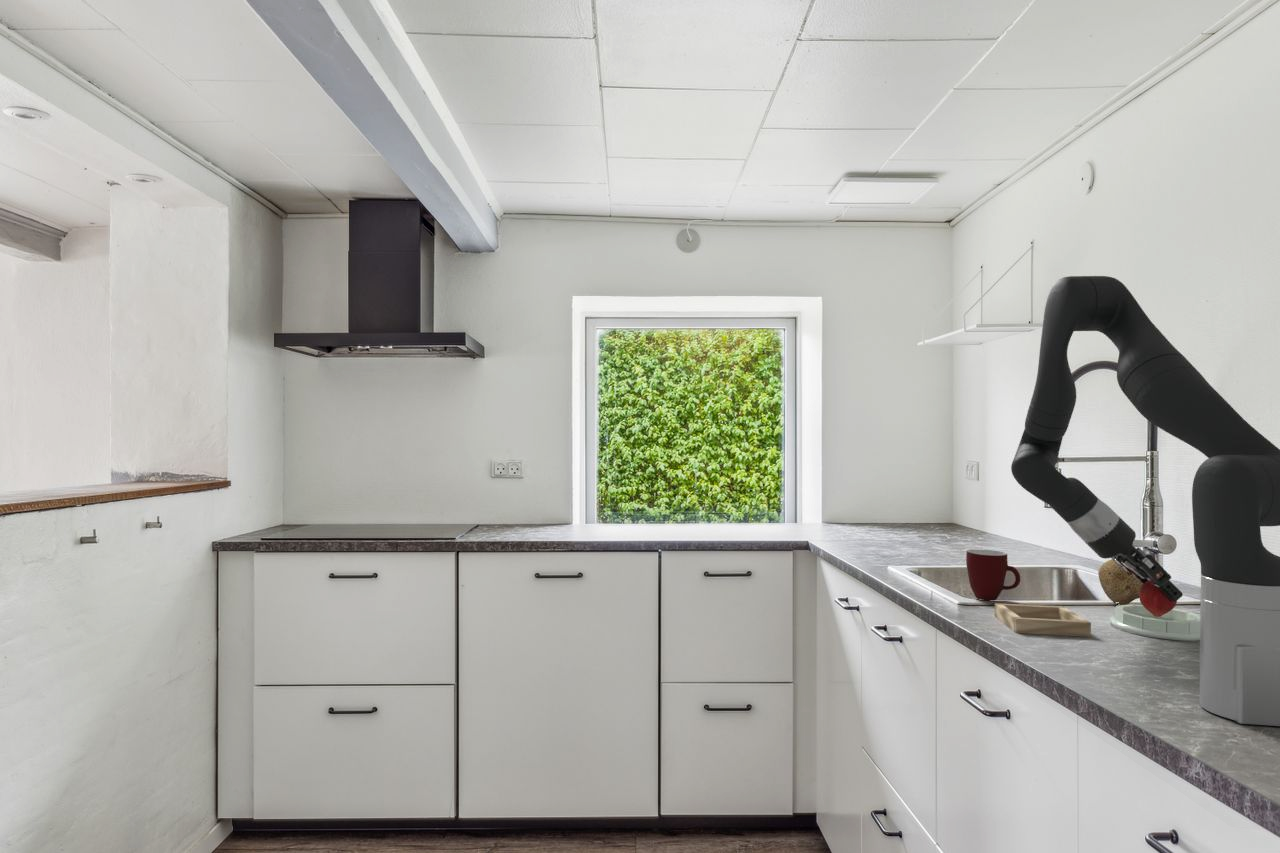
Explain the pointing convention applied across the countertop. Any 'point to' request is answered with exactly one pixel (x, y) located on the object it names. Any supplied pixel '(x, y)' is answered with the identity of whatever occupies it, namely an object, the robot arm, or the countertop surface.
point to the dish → (1157, 623)
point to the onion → (1155, 599)
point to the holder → (1042, 620)
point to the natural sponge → (1118, 583)
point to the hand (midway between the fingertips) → (1168, 594)
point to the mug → (989, 573)
